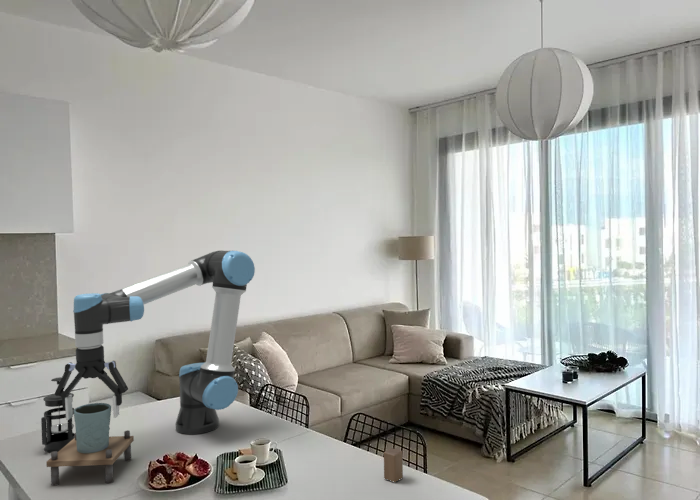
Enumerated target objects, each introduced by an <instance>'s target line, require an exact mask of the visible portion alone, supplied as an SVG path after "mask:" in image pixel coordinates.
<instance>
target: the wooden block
mask: <svg viewBox="0 0 700 500" xmlns="http://www.w3.org/2000/svg"><path fill="white" fill-rule="evenodd" d="M403 464H404V463H403V450H400V449H396V448H393V447H392V448H389V449H387V450H385V451H384V452H383V478H385V479H388V480H391V481H394V482H396V481H398V480H399V479H401V478H402V479H403V477H404V475H403V473H404V472H403V470H404V469H403V466H404V465H403ZM385 479H384V480H385ZM402 479H401V480H402ZM399 481H400V480H399ZM399 481H398V482H399ZM396 483H397V482H396Z"/></svg>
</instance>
